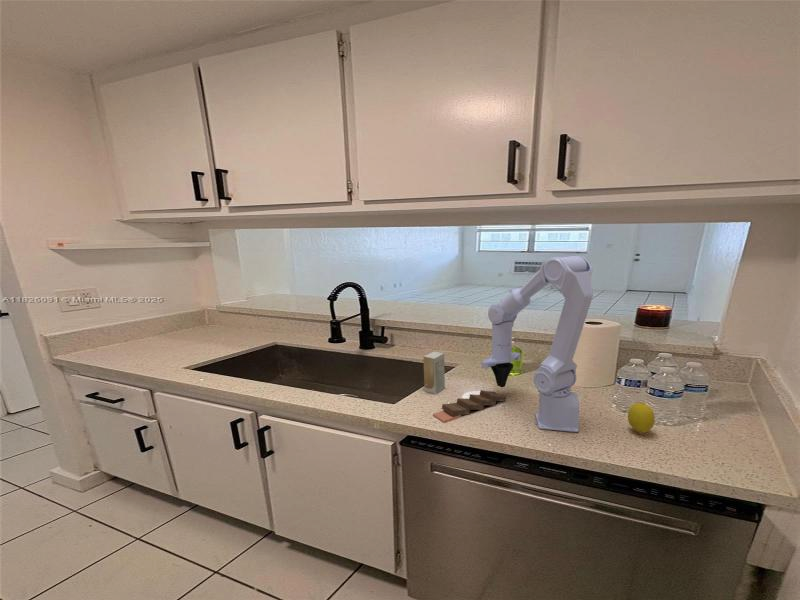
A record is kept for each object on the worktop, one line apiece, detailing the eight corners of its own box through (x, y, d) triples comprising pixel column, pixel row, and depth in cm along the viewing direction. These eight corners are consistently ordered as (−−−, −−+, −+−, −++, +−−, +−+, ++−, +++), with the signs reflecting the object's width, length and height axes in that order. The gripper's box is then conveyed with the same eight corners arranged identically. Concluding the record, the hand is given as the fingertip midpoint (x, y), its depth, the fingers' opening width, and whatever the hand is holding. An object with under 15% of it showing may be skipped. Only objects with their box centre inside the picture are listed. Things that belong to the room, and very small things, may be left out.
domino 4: (483, 395, 112) (470, 394, 108) (496, 400, 108) (482, 400, 104) (482, 399, 112) (469, 398, 108) (495, 405, 108) (481, 404, 104)
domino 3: (472, 398, 109) (457, 398, 106) (484, 404, 105) (469, 404, 102) (471, 403, 109) (456, 402, 106) (483, 409, 105) (468, 409, 102)
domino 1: (449, 408, 105) (432, 413, 102) (461, 414, 101) (443, 421, 98) (449, 412, 106) (433, 418, 103) (461, 419, 101) (443, 425, 98)
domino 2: (458, 402, 107) (442, 404, 104) (470, 409, 103) (453, 410, 100) (458, 407, 107) (441, 408, 104) (469, 413, 103) (452, 415, 100)
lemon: (621, 427, 93) (623, 398, 92) (642, 426, 93) (644, 397, 92) (637, 439, 88) (639, 408, 86) (658, 437, 88) (661, 406, 87)
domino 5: (493, 391, 114) (480, 390, 111) (506, 397, 110) (492, 395, 107) (492, 395, 114) (479, 394, 111) (505, 401, 110) (491, 400, 107)
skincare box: (434, 385, 124) (433, 350, 122) (445, 388, 121) (445, 352, 119) (423, 391, 119) (422, 355, 117) (434, 395, 116) (433, 358, 114)
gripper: (508, 336, 117) (507, 376, 119) (474, 344, 109) (474, 387, 112) (526, 341, 111) (525, 383, 113) (491, 349, 103) (491, 395, 106)
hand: (501, 385), depth 112 cm, fingers closed
